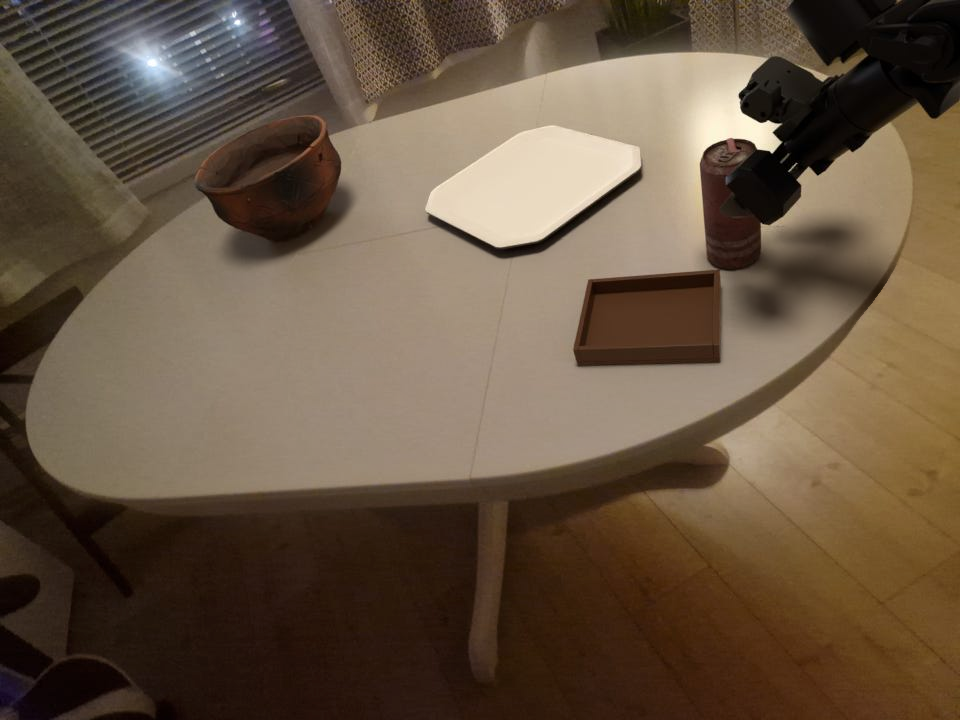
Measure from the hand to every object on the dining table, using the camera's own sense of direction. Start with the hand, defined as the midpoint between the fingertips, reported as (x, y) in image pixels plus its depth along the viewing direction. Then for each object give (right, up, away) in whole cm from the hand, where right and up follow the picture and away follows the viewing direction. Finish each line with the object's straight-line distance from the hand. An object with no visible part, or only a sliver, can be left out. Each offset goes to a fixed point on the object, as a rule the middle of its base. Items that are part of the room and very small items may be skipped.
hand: (745, 189), depth 71 cm
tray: (-10, -15, +3) cm, 18 cm away
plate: (-21, +8, +33) cm, 40 cm away
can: (+2, -6, +7) cm, 10 cm away
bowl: (-63, +7, +50) cm, 81 cm away
